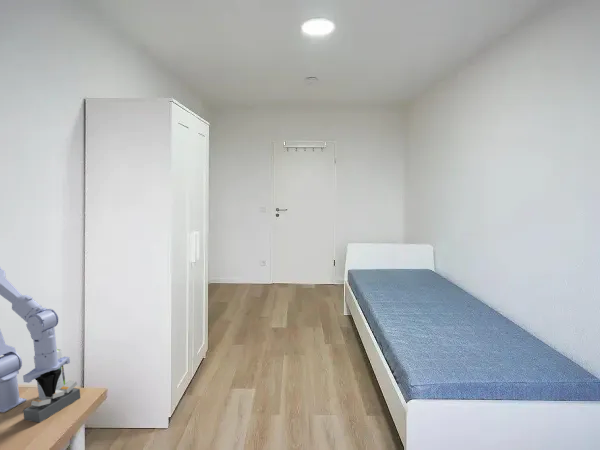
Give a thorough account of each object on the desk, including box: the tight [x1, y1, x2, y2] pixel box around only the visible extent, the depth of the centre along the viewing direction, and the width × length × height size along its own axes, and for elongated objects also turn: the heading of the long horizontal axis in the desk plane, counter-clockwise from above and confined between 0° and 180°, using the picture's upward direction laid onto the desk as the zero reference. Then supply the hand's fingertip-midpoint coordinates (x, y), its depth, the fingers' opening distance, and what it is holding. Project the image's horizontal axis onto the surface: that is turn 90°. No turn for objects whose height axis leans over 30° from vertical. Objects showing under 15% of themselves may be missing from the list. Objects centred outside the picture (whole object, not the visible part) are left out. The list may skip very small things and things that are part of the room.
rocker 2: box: [46, 390, 64, 399], centre depth 136 cm, size 3×4×1 cm
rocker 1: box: [30, 398, 51, 406], centre depth 132 cm, size 3×4×1 cm
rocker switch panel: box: [22, 387, 81, 423], centre depth 137 cm, size 6×15×4 cm, turn 161°
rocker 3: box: [60, 380, 78, 393], centre depth 141 cm, size 3×4×1 cm
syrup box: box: [33, 348, 66, 399], centre depth 146 cm, size 6×6×14 cm
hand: (50, 395), depth 135 cm, fingers closed, pressing on rocker 2
